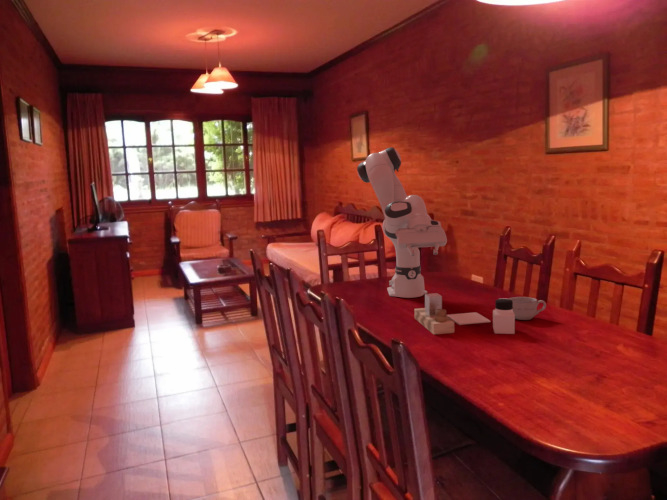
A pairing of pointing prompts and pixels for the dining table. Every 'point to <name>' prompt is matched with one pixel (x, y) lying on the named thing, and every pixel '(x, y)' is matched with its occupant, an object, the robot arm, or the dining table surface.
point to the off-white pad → (468, 318)
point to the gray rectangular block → (432, 304)
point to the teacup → (526, 307)
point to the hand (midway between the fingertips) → (424, 254)
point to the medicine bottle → (504, 317)
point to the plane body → (435, 321)
